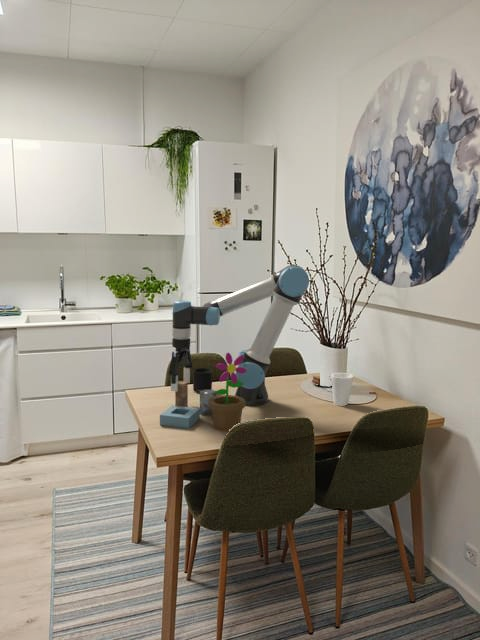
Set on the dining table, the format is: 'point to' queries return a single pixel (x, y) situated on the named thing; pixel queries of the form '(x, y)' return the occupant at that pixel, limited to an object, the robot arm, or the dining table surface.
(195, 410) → the bore block
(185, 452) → the dining table surface
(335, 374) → the foam cup
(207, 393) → the round peg
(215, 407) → the flowerpot
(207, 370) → the pen holder
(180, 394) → the square peg
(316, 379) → the toy sandwich meal
